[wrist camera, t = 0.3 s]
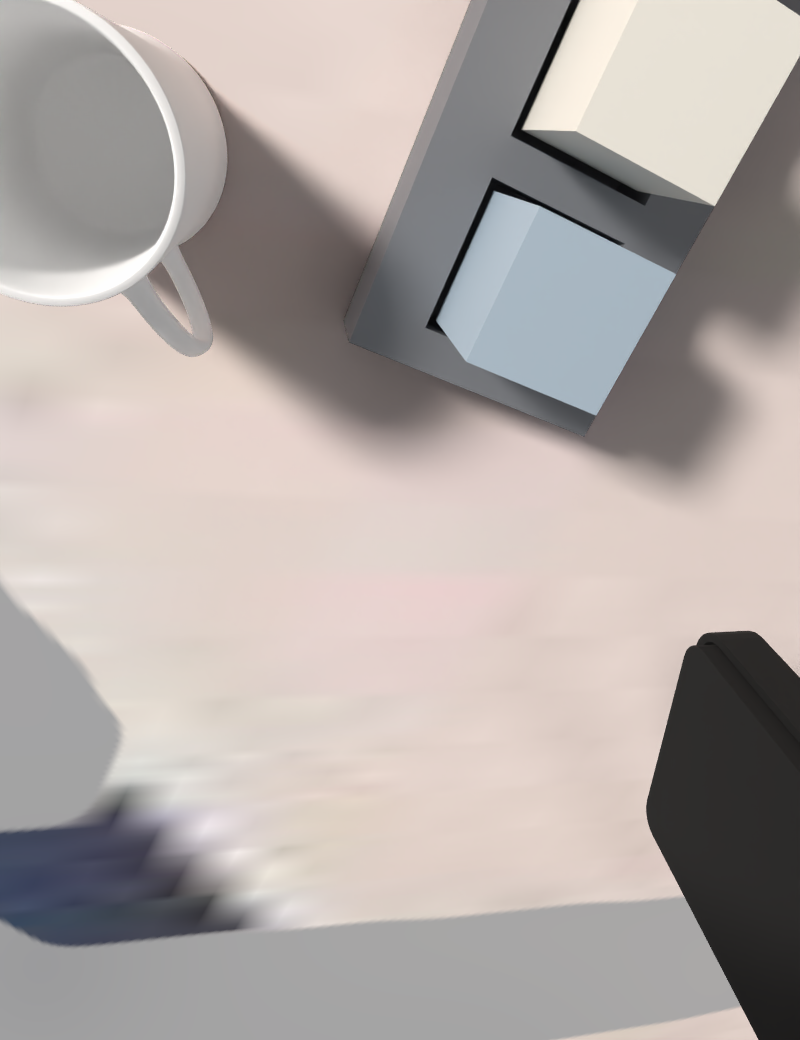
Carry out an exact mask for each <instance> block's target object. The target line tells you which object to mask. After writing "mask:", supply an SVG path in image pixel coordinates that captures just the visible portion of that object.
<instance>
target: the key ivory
mask: <svg viewBox="0 0 800 1040" xmlns="http://www.w3.org/2000/svg"><path fill="white" fill-rule="evenodd" d="M799 56H800V16H799V15H798V14H796V13H795V12H793V11H792V10H790V9H789V8H787V7H786V6H784V5H783V4H781V3H780V2H778V1H777V0H579V1H578V4H577V6H576V8H575V10H574V13H573V15H572V17H571V19H570V22H569V24H568V26H567V28H566V30H565V33H564V35H563V37H562V39H561V42H560V44H559V46H558V48H557V51H556V53H555V55H554V57H553V59H552V62H551V64H550V66H549V68H548V71H547V73H546V75H545V77H544V80H543V82H542V84H541V86H540V88H539V91H538V93H537V95H536V97H535V100H534V102H533V104H532V106H531V109H530V111H529V113H528V115H527V117H526V120H525V122H524V124H523V126H522V129H521V130H523V131H525V132H526V133H528V134H530V135H532V136H534V137H536V138H538V139H540V140H542V141H543V142H545V143H547V144H549V145H551V146H553V147H555V148H557V149H559V150H560V151H562V152H564V153H566V154H568V155H570V156H572V157H574V158H576V159H578V160H579V161H581V162H583V163H585V164H587V165H589V166H591V167H593V168H595V169H596V170H598V171H600V172H602V173H604V174H606V175H608V176H610V177H612V178H613V179H615V180H617V181H619V182H621V183H623V184H625V185H627V186H629V187H630V188H632V189H634V190H636V191H639V192H644V193H650V194H655V195H660V196H665V197H670V198H675V199H680V200H685V201H691V202H696V203H701V204H706V205H711V206H715V205H716V203H717V201H718V200H719V198H720V196H721V194H722V193H723V191H724V189H725V187H726V185H727V184H728V182H729V180H730V178H731V177H732V175H733V173H734V171H735V170H736V168H737V166H738V164H739V162H740V161H741V159H742V157H743V155H744V154H745V152H746V150H747V148H748V147H749V145H750V143H751V141H752V140H753V138H754V136H755V134H756V132H757V131H758V129H759V127H760V125H761V124H762V122H763V120H764V118H765V117H766V115H767V113H768V111H769V109H770V108H771V106H772V104H773V102H774V101H775V99H776V97H777V95H778V94H779V92H780V90H781V88H782V87H783V85H784V83H785V81H786V79H787V78H788V76H789V74H790V72H791V71H792V69H793V67H794V65H795V64H796V62H797V60H798V58H799Z"/></svg>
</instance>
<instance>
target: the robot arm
mask: <svg viewBox="0 0 800 1040" xmlns="http://www.w3.org/2000/svg"><path fill="white" fill-rule="evenodd" d="M646 812H647V820H648V824H649V827H650V830H651V832H652V835H653V837H654V839H655V841H656V843H657V845H658V846H659V848H660V850H661V852H662V854H663V856H664V858H665V860H666V862H667V864H668V866H669V868H670V870H671V872H672V873H673V875H674V877H675V879H676V881H677V883H678V885H679V887H680V889H681V891H682V893H683V895H684V897H685V899H686V901H687V902H688V904H689V906H690V908H691V910H692V912H693V914H694V916H695V918H696V920H697V922H698V924H699V925H700V928H701V929H702V931H703V933H704V935H705V937H706V939H707V941H708V943H709V945H710V947H711V949H712V951H713V953H714V955H715V957H716V958H717V960H718V962H719V964H720V966H721V968H722V970H723V972H724V974H725V976H726V978H727V980H728V982H729V983H730V985H731V987H732V989H733V991H734V993H735V995H736V997H737V999H738V1001H739V1003H740V1005H741V1007H742V1009H743V1011H744V1013H745V1014H746V1016H747V1018H748V1020H749V1022H750V1024H751V1026H752V1028H753V1030H754V1032H755V1034H756V1036H757V1038H758V1040H800V677H799V676H798V675H797V674H796V673H795V672H794V671H793V670H792V669H791V668H790V667H789V666H788V665H787V664H786V663H785V662H784V660H783V659H782V658H781V657H780V656H779V655H778V654H777V653H776V652H775V651H774V650H773V649H772V648H771V647H770V646H769V644H768V643H767V642H766V641H765V640H764V639H763V638H762V637H761V636H759V635H758V634H757V633H756V632H752V631H735V632H715V633H706V634H703V635H702V636H701V638H700V639H699V640H698V643H697V645H694V646H691V647H689V648H688V649H687V651H686V653H685V656H684V659H683V663H682V667H681V671H680V675H679V679H678V683H677V687H676V690H675V694H674V698H673V702H672V706H671V710H670V714H669V718H668V721H667V725H666V729H665V733H664V737H663V741H662V745H661V749H660V753H659V756H658V760H657V764H656V768H655V772H654V776H653V780H652V784H651V788H650V791H649V795H648V799H647V805H646Z"/></svg>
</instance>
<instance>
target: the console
mask: <svg viewBox="0 0 800 1040" xmlns="http://www.w3.org/2000/svg"><path fill="white" fill-rule="evenodd" d="M578 1H579V0H471V2H470V4H469V7H468V9H467V12H466V14H465V17H464V19H463V22H462V24H461V27H460V29H459V32H458V34H457V37H456V39H455V42H454V44H453V47H452V49H451V52H450V54H449V57H448V59H447V62H446V64H445V67H444V69H443V72H442V74H441V77H440V79H439V82H438V84H437V87H436V89H435V92H434V95H433V97H432V100H431V102H430V105H429V107H428V110H427V112H426V115H425V117H424V120H423V122H422V125H421V127H420V130H419V132H418V135H417V137H416V140H415V142H414V145H413V147H412V150H411V152H410V155H409V157H408V160H407V162H406V165H405V167H404V170H403V172H402V175H401V177H400V180H399V182H398V185H397V187H396V190H395V192H394V195H393V197H392V200H391V202H390V205H389V208H388V210H387V213H386V215H385V218H384V220H383V223H382V225H381V228H380V230H379V233H378V235H377V238H376V240H375V243H374V245H373V248H372V250H371V253H370V255H369V258H368V260H367V263H366V265H365V268H364V270H363V273H362V275H361V278H360V280H359V283H358V285H357V288H356V290H355V293H354V295H353V298H352V300H351V303H350V305H349V308H348V310H347V313H346V316H345V318H344V325H345V329H346V333H347V337H348V340H349V343H352V344H354V345H357V346H359V347H362V348H364V349H367V350H369V351H372V352H374V353H377V354H379V355H382V356H384V357H387V358H389V359H392V360H394V361H397V362H399V363H402V364H404V365H407V366H409V367H412V368H414V369H417V370H419V371H422V372H424V373H427V374H429V375H432V376H434V377H437V378H439V379H442V380H444V381H447V382H449V383H452V384H454V385H457V386H459V387H462V388H464V389H466V390H469V391H471V392H474V393H476V394H479V395H481V396H484V397H486V398H489V399H491V400H494V401H496V402H499V403H501V404H504V405H506V406H509V407H511V408H514V409H516V410H519V411H521V412H524V413H526V414H529V415H531V416H534V417H536V418H539V419H541V420H544V421H546V422H549V423H551V424H554V425H556V426H559V427H561V428H564V429H566V430H569V431H571V432H574V433H576V434H578V435H581V436H583V437H584V436H585V434H586V433H587V431H588V429H589V427H590V426H591V424H592V422H593V420H594V418H595V417H596V415H594V414H591V413H589V412H586V411H584V410H581V409H579V408H577V407H574V406H572V405H569V404H567V403H565V402H562V401H560V400H557V399H555V398H552V397H550V396H548V395H545V394H543V393H540V392H538V391H536V390H533V389H531V388H528V387H526V386H523V385H521V384H519V383H516V382H514V381H511V380H509V379H507V378H504V377H502V376H499V375H497V374H494V373H492V372H490V371H487V370H485V369H482V368H480V367H478V366H475V365H473V364H470V363H468V362H466V361H465V360H464V358H463V357H462V356H461V354H460V353H459V351H458V350H457V349H456V347H455V346H454V345H453V343H452V342H451V340H450V339H449V338H448V336H447V335H446V334H445V332H444V331H443V329H442V328H441V327H440V325H439V324H438V323H437V321H436V318H437V316H438V314H439V311H440V309H441V307H442V305H443V302H444V300H445V298H446V296H447V294H448V291H449V289H450V287H451V285H452V282H453V280H454V278H455V276H456V274H457V271H458V269H459V267H460V265H461V262H462V260H463V258H464V256H465V253H466V251H467V249H468V247H469V245H470V242H471V240H472V238H473V236H474V233H475V231H476V229H477V227H478V224H479V222H480V220H481V218H482V216H483V213H484V211H485V209H486V207H487V204H488V202H489V200H490V198H491V195H492V193H493V191H496V192H499V193H502V194H505V195H508V196H511V197H514V198H517V199H520V200H523V201H526V202H529V203H532V204H535V205H538V206H541V207H543V208H545V209H547V210H549V211H551V212H553V213H555V214H557V215H559V216H561V217H563V218H565V219H567V220H569V221H571V222H573V223H575V224H577V225H579V226H581V227H583V228H585V229H587V230H589V231H591V232H593V233H595V234H597V235H599V236H601V237H603V238H605V239H607V240H609V241H611V242H613V243H615V244H617V245H619V246H621V247H623V248H625V249H627V250H629V251H631V252H633V253H635V254H637V255H639V256H641V257H643V258H645V259H647V260H649V261H651V262H653V263H655V264H657V265H659V266H661V267H663V268H665V269H667V270H669V271H671V272H673V273H675V274H677V272H678V270H679V268H680V266H681V265H682V263H683V261H684V259H685V258H686V256H687V254H688V252H689V251H690V249H691V247H692V245H693V244H694V242H695V240H696V238H697V236H698V235H699V233H700V231H701V229H702V228H703V226H704V224H705V222H706V221H707V219H708V217H709V215H710V213H711V212H712V210H713V208H714V206H711V205H706V204H701V203H696V202H691V201H685V200H680V199H675V198H670V197H665V196H660V195H655V194H650V193H644V192H639V191H636V190H634V189H632V188H630V187H629V186H627V185H625V184H623V183H621V182H619V181H617V180H615V179H613V178H612V177H610V176H608V175H606V174H604V173H602V172H600V171H598V170H596V169H595V168H593V167H591V166H589V165H587V164H585V163H583V162H581V161H579V160H578V159H576V158H574V157H572V156H570V155H568V154H566V153H564V152H562V151H560V150H559V149H557V148H555V147H553V146H551V145H549V144H547V143H545V142H543V141H542V140H540V139H538V138H536V137H534V136H532V135H530V134H528V133H526V132H525V131H523V130H521V129H522V126H523V124H524V122H525V120H526V117H527V115H528V113H529V111H530V109H531V106H532V104H533V102H534V100H535V97H536V95H537V93H538V91H539V88H540V86H541V84H542V82H543V80H544V77H545V75H546V73H547V71H548V68H549V66H550V64H551V62H552V59H553V57H554V55H555V53H556V51H557V48H558V46H559V44H560V42H561V39H562V37H563V35H564V33H565V30H566V28H567V26H568V24H569V22H570V19H571V17H572V15H573V13H574V10H575V8H576V6H577V4H578ZM777 1H778V2H780V3H781V4H783V5H784V6H786V7H787V8H789V9H790V10H792V11H793V12H795V13H796V14H798V15H799V16H800V0H777Z"/></svg>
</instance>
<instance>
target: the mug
mask: <svg viewBox="0 0 800 1040" xmlns="http://www.w3.org/2000/svg"><path fill="white" fill-rule="evenodd" d="M226 173H227V143H226V137H225V132H224V127H223V123H222V120H221V117H220V114H219V111H218V109H217V106H216V104H215V102H214V100H213V98H212V96H211V94H210V92H209V91H208V89H207V87H206V86H205V84H204V83H203V81H202V80H201V78H200V77H199V76H198V74H197V73H196V72H195V70H194V69H193V68H192V67H191V66H190V65H189V64H188V63H187V62H186V61H185V60H184V59H183V58H182V57H181V56H180V55H179V54H178V53H177V52H175V51H174V50H173V49H172V48H170V47H169V46H168V45H166V44H165V43H163V42H162V41H160V40H158V39H157V38H155V37H153V36H151V35H149V34H147V33H145V32H142V31H140V30H137V29H134V28H131V27H128V26H123V25H118V24H116V23H114V22H113V21H111V20H109V19H107V18H105V17H104V16H102V15H100V14H98V13H97V12H95V11H93V10H91V9H90V8H88V7H86V6H84V5H82V4H81V3H79V2H77V1H75V0H0V294H3V295H5V296H8V297H11V298H14V299H17V300H20V301H24V302H28V303H33V304H39V305H46V306H78V305H85V304H90V303H95V302H99V301H102V300H105V299H108V298H111V297H113V296H115V295H118V294H120V293H122V294H123V295H124V296H125V297H126V298H127V299H128V300H129V301H130V302H131V303H132V304H133V306H134V307H135V308H136V309H137V311H138V312H139V313H140V314H141V316H142V317H143V318H144V319H145V320H146V322H147V323H148V324H149V325H150V326H151V327H152V329H153V330H154V331H155V332H156V333H157V334H158V335H159V336H160V337H161V338H162V339H163V340H164V341H165V342H166V343H167V344H168V345H170V346H171V347H172V348H173V349H175V350H176V351H178V352H179V353H181V354H183V355H185V356H189V357H196V356H199V355H202V354H204V353H205V352H206V351H208V350H209V348H210V347H211V345H212V341H213V333H212V327H211V322H210V319H209V315H208V312H207V309H206V306H205V304H204V301H203V299H202V296H201V294H200V291H199V289H198V287H197V285H196V283H195V280H194V278H193V276H192V274H191V272H190V270H189V268H188V266H187V264H186V262H185V260H184V258H183V256H182V254H181V252H180V249H179V245H181V244H182V243H184V242H186V241H187V240H189V239H190V238H191V237H193V236H194V235H195V234H196V233H197V232H198V231H199V230H200V229H201V228H202V227H203V226H204V225H205V224H206V222H207V221H208V220H209V218H210V217H211V215H212V214H213V212H214V210H215V209H216V207H217V205H218V202H219V200H220V197H221V195H222V192H223V188H224V184H225V180H226ZM160 261H161V263H162V264H163V265H164V267H165V268H166V270H167V272H168V273H169V275H170V277H171V279H172V281H173V283H174V285H175V287H176V289H177V291H178V293H179V295H180V298H181V300H182V302H183V305H184V307H185V310H186V312H187V315H188V318H189V321H190V324H191V328H192V333H193V335H192V334H190V333H189V332H188V331H187V330H186V329H185V328H184V327H183V326H182V325H181V324H180V323H179V321H178V320H177V319H176V318H175V317H174V316H173V314H172V313H171V312H170V311H169V309H168V308H167V307H166V306H165V304H164V303H163V302H162V300H161V299H160V297H159V296H158V294H157V293H156V291H155V290H154V288H153V286H152V284H151V282H150V281H149V279H148V277H147V274H149V273H150V272H151V271H152V270H153V269H154V268H155V267H156V266H157V265H158V264H159V263H160Z"/></svg>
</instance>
